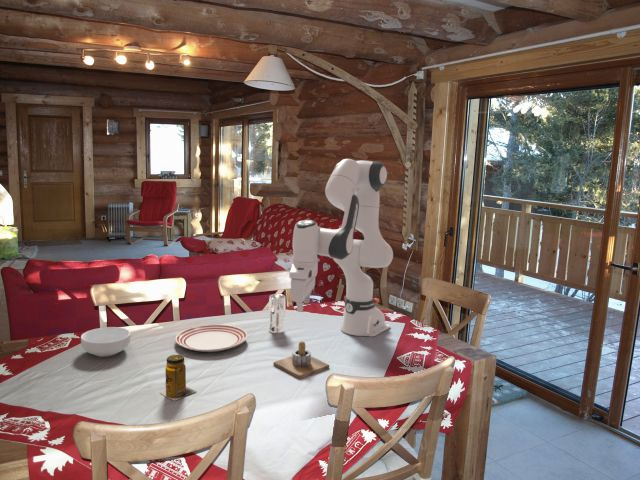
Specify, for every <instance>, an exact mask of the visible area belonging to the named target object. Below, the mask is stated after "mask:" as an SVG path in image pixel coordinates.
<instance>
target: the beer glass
mask: <svg viewBox="0 0 640 480" xmlns="http://www.w3.org/2000/svg"><path fill="white" fill-rule="evenodd" d="M268 313H269V321H270V325H269V330H268V332H269V333H271V334H282V333H284V330H285V329H284V320H285V319H284V318H285V314H286V295H285V294H280V293H274V294H270V295H269V300H268Z"/></svg>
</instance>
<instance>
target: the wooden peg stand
mask: <svg viewBox="0 0 640 480" xmlns="http://www.w3.org/2000/svg"><path fill="white" fill-rule="evenodd" d="M297 350H298V355H305V350H306V342H305V341H299V342H298V349H297ZM272 364H273V366H274V367H277V368H278V369H280V370H282V371H284V372H285V373H287V374H289V375H290V376H293V377H295V378H297V379H298V380H300V379H303V378H306V377H308V376H312V375H313V374H316V373H319V372H322V371H324V370H325V371H326V370H327V369H330V364H328V363H326V362H324V361H322V360H319V358H315V357H314V356H312V355H311V364H310V365H309V366H307V367H296V366H294V365H293V364H292V355H291V356H287V357H284V358H281V359H278V360H275V361H273V363H272Z"/></svg>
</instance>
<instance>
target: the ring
mask: <svg viewBox="0 0 640 480" xmlns="http://www.w3.org/2000/svg"><path fill="white" fill-rule="evenodd" d="M291 356H292V364H293V365H294V366H296V367H307V366H309V365H310V364H311V356H312V352H311V351H310V350H308V349H305V355H298V349H294V350H293V351H292V355H291Z"/></svg>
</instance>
